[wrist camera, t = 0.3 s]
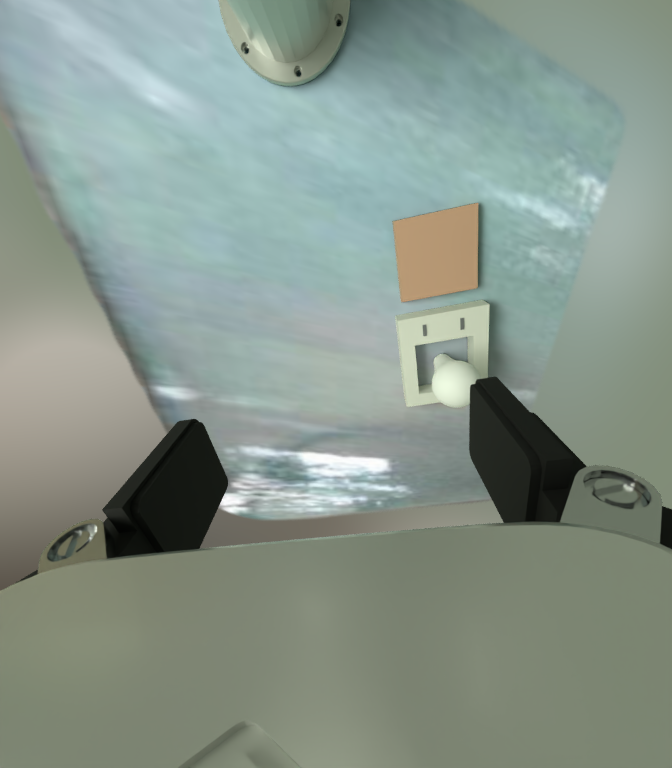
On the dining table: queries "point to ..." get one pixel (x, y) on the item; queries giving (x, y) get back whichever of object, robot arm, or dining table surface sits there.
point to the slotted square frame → (441, 327)
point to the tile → (437, 252)
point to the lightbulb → (453, 381)
